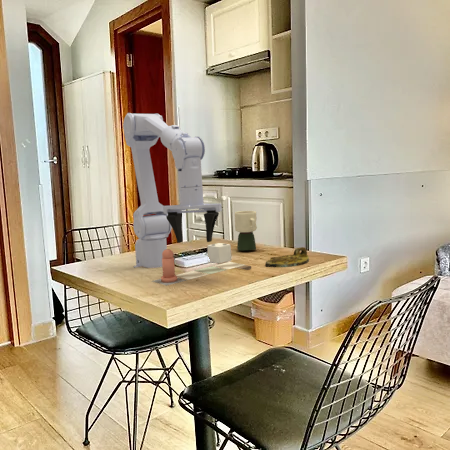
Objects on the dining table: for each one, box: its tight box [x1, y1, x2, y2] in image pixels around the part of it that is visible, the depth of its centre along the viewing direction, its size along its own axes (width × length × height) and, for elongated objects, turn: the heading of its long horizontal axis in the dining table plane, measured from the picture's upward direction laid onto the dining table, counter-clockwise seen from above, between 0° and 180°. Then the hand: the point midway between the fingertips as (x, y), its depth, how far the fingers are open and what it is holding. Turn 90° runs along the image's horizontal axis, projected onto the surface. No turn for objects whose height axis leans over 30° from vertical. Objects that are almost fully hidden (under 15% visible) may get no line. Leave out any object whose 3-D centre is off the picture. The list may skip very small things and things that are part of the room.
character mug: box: [234, 210, 258, 252], centre depth 157 cm, size 11×7×13 cm, turn 28°
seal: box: [264, 246, 310, 268], centre depth 138 cm, size 9×5×15 cm
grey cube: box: [206, 242, 232, 264], centre depth 144 cm, size 5×5×5 cm
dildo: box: [160, 248, 178, 283], centre depth 119 cm, size 4×4×8 cm
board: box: [151, 261, 252, 287], centre depth 126 cm, size 10×28×1 cm, turn 134°
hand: (194, 241), depth 118 cm, fingers open, 7 cm apart
